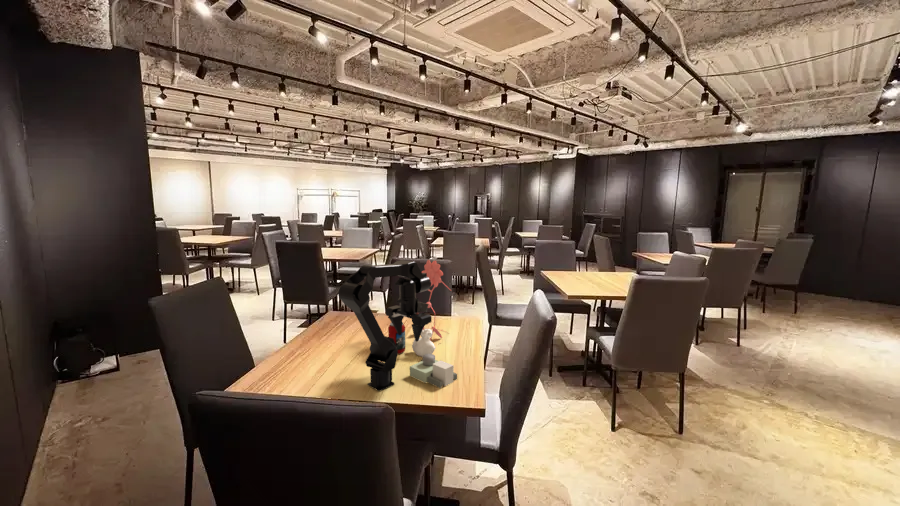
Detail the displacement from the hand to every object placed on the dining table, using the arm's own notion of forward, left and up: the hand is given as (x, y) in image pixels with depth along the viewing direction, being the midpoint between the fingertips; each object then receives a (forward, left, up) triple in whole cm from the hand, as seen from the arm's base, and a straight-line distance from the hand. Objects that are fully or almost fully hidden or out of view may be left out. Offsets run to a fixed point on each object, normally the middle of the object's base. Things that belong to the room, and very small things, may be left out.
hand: (408, 338), depth 136 cm
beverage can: (+8, +16, -12) cm, 22 cm away
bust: (+14, +6, -12) cm, 20 cm away
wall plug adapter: (+2, -11, -12) cm, 16 cm away
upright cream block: (+2, -15, -12) cm, 20 cm away
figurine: (+32, +19, -12) cm, 39 cm away
